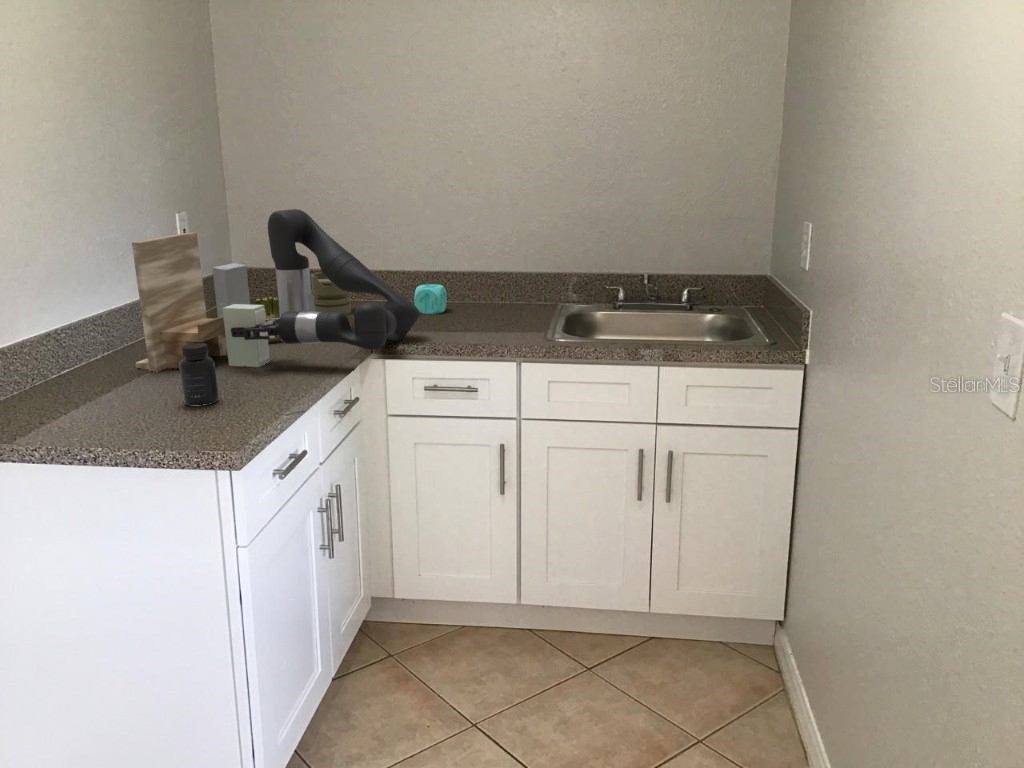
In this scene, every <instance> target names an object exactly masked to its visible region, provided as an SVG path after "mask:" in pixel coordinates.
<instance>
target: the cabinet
mask: <svg viewBox="0 0 1024 768" xmlns="http://www.w3.org/2000/svg"><path fill="white" fill-rule="evenodd" d="M223 317H224V326H225V341H226V343H225V344H226V350H227V351H226V353H227V359H228V360H227V361H228V366H229V367H244V366H246V367H248V368H249V367H250V368H261V367H263V366H265V365H267V364H268V362H269V363H270V362H271V361H270V360H271V359H270V349H269V343H268V339H267V340H266V339H256V340H245V339H244V337H232V335H231V328H233V327H250V326H255V324H257V323H265V322H266V316H265V308H264V305H263V304H261V305H256V304H250V305H247V304H233V305H230V306H227V307H224V308H223ZM259 328H261V326H260V327H259ZM251 335H253V332H252V331H251ZM266 363H267V364H266ZM262 365H263V366H262ZM260 366H261V367H260Z"/></svg>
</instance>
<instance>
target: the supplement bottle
mask: <svg viewBox="0 0 1024 768" xmlns="http://www.w3.org/2000/svg"><path fill="white" fill-rule="evenodd" d="M207 354H208V350H207V345H206V344H205V343H193V344H187V345H184V346H182V356H183V357H184V359H182V360H181V361H180V363H179V369H178V370H179V377H180V384H181V390H182V397H183V402H184V404H185V405H186V404H188V405H203V404H209V403H213V402H215V401H217V400H218V401H219V398H220V396H219V395H220V394H219V390H218V389H219V388H218V380H217V372H216V363H215V361H214V359H213V358H212V356H207ZM218 401H217V402H218Z"/></svg>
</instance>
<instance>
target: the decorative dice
mask: <svg viewBox="0 0 1024 768" xmlns="http://www.w3.org/2000/svg"><path fill="white" fill-rule="evenodd" d="M447 297H448V296H447V291H446V288H445V287H444V286H443V285H442V284H435V283H434V284H433V283H430V284H420V285H418V286H417V287H416V288H415V291H414V298H413V299H414V300H413V301H414V303H413V304H414V305H415V306H416V307H417V308H418V310H419V311H420V315H421V314H422V315H437V314H443V313H444V312H445V311H446V308H447V301H448V300H447Z"/></svg>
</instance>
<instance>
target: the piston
mask: <svg viewBox="0 0 1024 768" xmlns="http://www.w3.org/2000/svg"><path fill="white" fill-rule="evenodd" d="M310 281H311V293H312V294H313V296H314V308H315V311H316V312H343V313H344V314H345V315H349V314H351V313H352V305H351V304H352V303H351V296H350V294H349V293H350V292H346V291H343V290H341V289H339V288H338V287H337V286H336V285H335V284H334V283H332V282H331V281H330V280H329V279H328V278H327V277H326V276H325V275H324V274H323V272H322V271H321V272H317V273H312V274H310Z"/></svg>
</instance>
